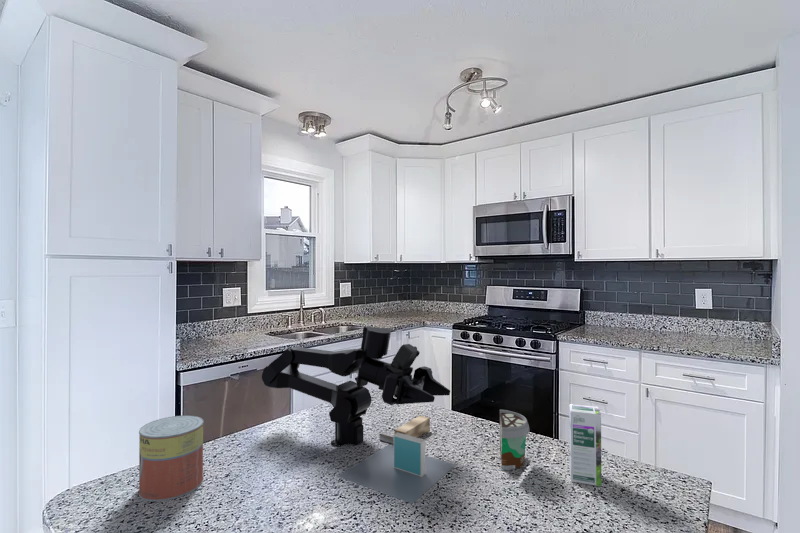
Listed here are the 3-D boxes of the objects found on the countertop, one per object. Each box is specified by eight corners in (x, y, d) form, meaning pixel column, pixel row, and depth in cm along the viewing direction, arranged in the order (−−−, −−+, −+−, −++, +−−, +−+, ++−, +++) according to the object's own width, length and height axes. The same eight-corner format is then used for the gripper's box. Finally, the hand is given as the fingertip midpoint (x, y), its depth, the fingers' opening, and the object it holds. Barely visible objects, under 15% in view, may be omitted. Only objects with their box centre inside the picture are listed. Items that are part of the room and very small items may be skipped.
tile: (393, 467, 88) (393, 434, 88) (397, 464, 89) (397, 432, 89) (421, 477, 84) (421, 442, 84) (425, 473, 85) (425, 439, 85)
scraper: (407, 427, 113) (407, 412, 113) (443, 436, 107) (443, 420, 107) (379, 443, 102) (379, 427, 102) (417, 454, 96) (417, 437, 96)
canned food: (144, 478, 85) (144, 419, 85) (204, 467, 90) (204, 412, 90) (133, 507, 75) (133, 440, 75) (202, 493, 79) (202, 431, 79)
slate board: (337, 479, 84) (337, 475, 84) (388, 448, 99) (388, 444, 99) (412, 508, 74) (412, 503, 74) (456, 468, 89) (456, 464, 89)
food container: (532, 479, 85) (532, 430, 85) (501, 476, 86) (501, 428, 86) (526, 453, 97) (526, 410, 97) (499, 450, 98) (499, 408, 98)
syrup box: (570, 482, 83) (570, 410, 84) (569, 469, 89) (569, 401, 89) (601, 487, 81) (601, 414, 82) (598, 473, 87) (598, 405, 87)
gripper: (369, 342, 90) (433, 363, 82) (407, 339, 106) (464, 357, 99) (358, 392, 89) (421, 418, 82) (398, 382, 106) (454, 402, 98)
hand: (442, 396), depth 90 cm, fingers open, 9 cm apart
